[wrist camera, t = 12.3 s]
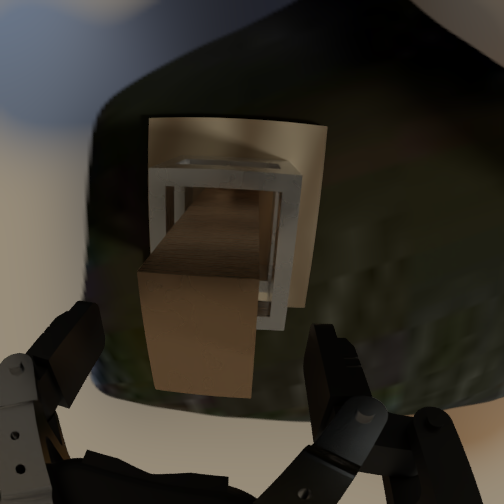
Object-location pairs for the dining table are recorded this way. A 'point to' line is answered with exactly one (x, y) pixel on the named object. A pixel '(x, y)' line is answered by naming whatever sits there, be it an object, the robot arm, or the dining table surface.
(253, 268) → the tan wooden post
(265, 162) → the collar frame
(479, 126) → the dining table surface
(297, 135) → the holder board
